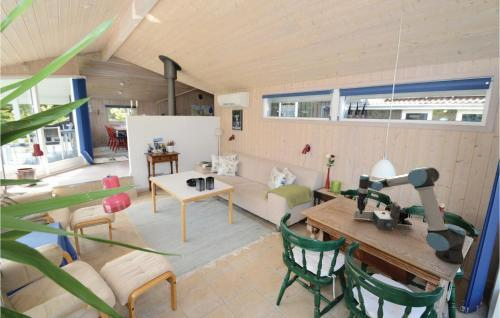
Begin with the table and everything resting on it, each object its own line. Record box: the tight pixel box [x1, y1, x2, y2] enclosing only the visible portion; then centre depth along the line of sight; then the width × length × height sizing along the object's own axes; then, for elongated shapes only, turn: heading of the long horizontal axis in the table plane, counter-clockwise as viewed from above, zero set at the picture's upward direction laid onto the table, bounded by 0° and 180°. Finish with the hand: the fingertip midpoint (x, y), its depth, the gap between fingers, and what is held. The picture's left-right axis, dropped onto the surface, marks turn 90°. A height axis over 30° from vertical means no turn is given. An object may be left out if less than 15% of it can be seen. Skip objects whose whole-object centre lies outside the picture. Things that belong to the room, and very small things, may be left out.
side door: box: [353, 209, 373, 221], centre depth 217 cm, size 15×2×8 cm, turn 80°
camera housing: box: [371, 210, 393, 230], centre depth 206 cm, size 19×11×10 cm, turn 171°
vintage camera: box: [389, 201, 413, 228], centre depth 205 cm, size 10×16×20 cm, turn 78°
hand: (359, 216), depth 215 cm, fingers closed
